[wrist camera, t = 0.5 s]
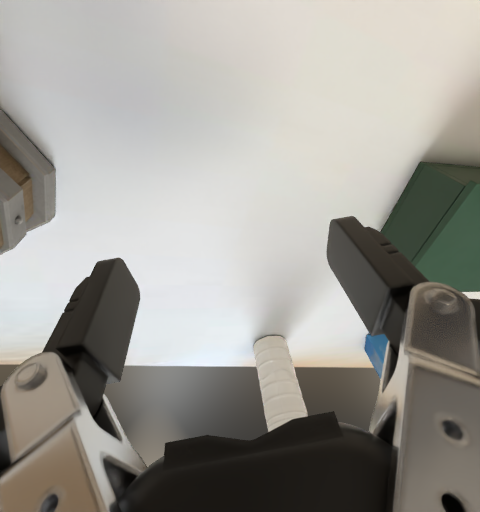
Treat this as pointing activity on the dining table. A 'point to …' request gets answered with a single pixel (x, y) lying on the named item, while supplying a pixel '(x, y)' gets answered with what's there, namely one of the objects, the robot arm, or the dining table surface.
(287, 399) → the water bottle
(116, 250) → the dining table surface
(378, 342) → the perfume bottle
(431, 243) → the cover
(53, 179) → the tankard
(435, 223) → the green storage bin
